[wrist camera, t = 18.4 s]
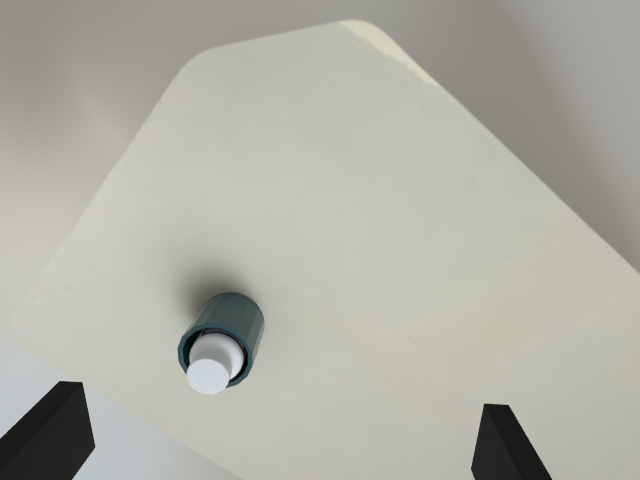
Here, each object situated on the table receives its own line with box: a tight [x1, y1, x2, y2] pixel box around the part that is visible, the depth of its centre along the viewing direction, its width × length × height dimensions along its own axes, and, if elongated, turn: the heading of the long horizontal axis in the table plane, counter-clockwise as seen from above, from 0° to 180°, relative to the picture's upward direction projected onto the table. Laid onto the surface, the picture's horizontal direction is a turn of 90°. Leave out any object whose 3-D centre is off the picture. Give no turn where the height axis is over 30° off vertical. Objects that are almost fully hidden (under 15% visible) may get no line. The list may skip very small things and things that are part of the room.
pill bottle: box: [187, 328, 247, 394], centre depth 41 cm, size 5×5×10 cm
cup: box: [178, 293, 264, 388], centre depth 42 cm, size 8×8×7 cm
